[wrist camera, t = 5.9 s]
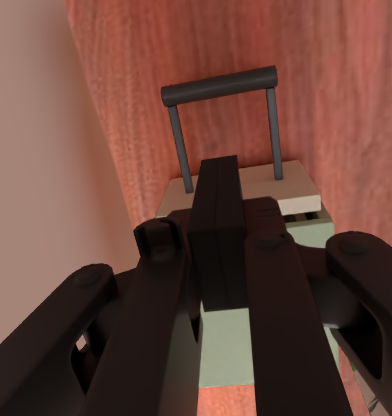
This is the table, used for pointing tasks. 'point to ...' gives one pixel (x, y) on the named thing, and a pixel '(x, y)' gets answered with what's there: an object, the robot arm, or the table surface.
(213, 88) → the drawer
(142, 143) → the table surface
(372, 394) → the ink box
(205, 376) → the cabinet
